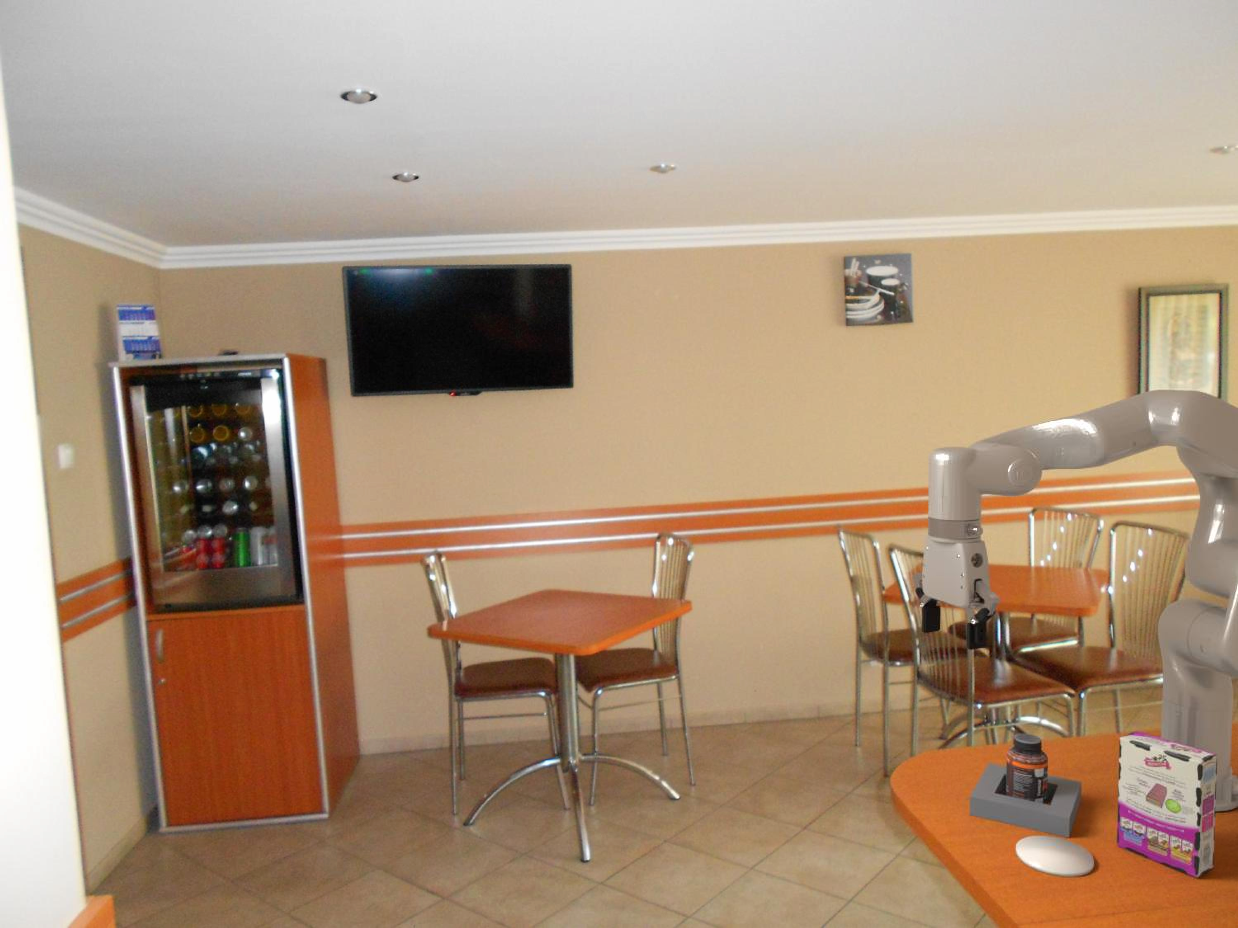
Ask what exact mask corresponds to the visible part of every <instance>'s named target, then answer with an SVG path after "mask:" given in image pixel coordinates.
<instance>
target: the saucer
mask: <svg viewBox="0 0 1238 928" xmlns="http://www.w3.org/2000/svg"><path fill="white" fill-rule="evenodd" d="M1015 854H1016V857H1017V858H1018V860H1020V861H1021V862H1022V863H1023V864H1025V865H1026V866H1027V867H1030V868H1031V869H1034V870H1036V871H1037V872H1041V873H1044V874H1047V875H1052V876H1056V877H1063V878H1065V877H1067V878H1068V877H1069V878H1074V877H1081V876H1085V875H1088V874H1089V873H1091V872H1092V871H1093V870H1094V867H1095V860H1094V856H1093V855H1092V853H1090V851H1088V849H1086V848H1085V847H1083V846H1081V845H1079V844H1078V843H1076V842H1073V841H1071V840H1067V839H1065V838H1061V837H1057V836H1050V835H1031V836H1030V835H1029V836H1026V837H1023V838H1021V839H1019V840H1018V841H1017V842H1016V845H1015Z"/></svg>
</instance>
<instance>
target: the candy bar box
mask: <svg viewBox="0 0 1238 928" xmlns="http://www.w3.org/2000/svg"><path fill="white" fill-rule="evenodd" d="M1118 744H1119V745H1118V746H1119V748H1118V749H1119V750H1118V785H1117V786H1118V787H1117V788H1118V789H1117V790H1118V791H1117V793H1118V794H1117V819H1116V820H1117V822H1116V825H1117V828H1116V846H1117V847H1118V848H1121V849H1123V850H1127V851H1129V852H1131V853H1134V854H1136V855H1139V856H1140V857H1144V858H1146V859H1147V860H1150V861H1153V862H1156V863H1159V864H1161V865H1164V866H1166V867H1168V868H1171V869H1174V870H1176V871H1179V872H1181V873H1184V874H1186V875H1189V876H1191V877H1194V878H1197V879H1198V878H1200V877H1201V876H1203V875H1204V874H1207V872H1209V871H1211V870H1212V869H1213V868H1214V863H1215V860H1214V859H1215V835H1216V834H1215V831H1216V829H1215V828H1216V811H1215V805H1216V778H1217V754H1215V753H1211V752H1208V751H1204V750H1201V749H1198V748H1194V747H1191V746H1188V745H1184V744H1181V743H1177V742H1174V741H1170V740H1167V739H1163V738H1161V736H1160V737H1159V736H1156V735H1153V734H1150V733H1149V734H1148V733H1145V732H1142V731H1138V730H1135V731H1132V732H1130V733H1128V734H1126V735H1123V736H1121V737H1119V743H1118Z"/></svg>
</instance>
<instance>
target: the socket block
mask: <svg viewBox="0 0 1238 928" xmlns="http://www.w3.org/2000/svg"><path fill="white" fill-rule="evenodd" d="M1004 793H1006V766H1004V765H1000V764H995V763H988V764H987V766H986V768H985V769H984V771H983V773H982V775H981V777H980V778H979V780H978V782H977V783H976V785H975V787H974V789H973V790H972V792H971V794H970V796H969V815H970V816H974V817H978V818H983V819H986V820H991V821H995V822H999V823H1004V824H1007V825H1013V826H1017V827H1020V828H1025V829H1029V830H1034V831H1039V832H1043V833H1045V834H1046V833H1047V834H1049V835H1050V834H1052V835H1055V836H1060V837H1064V838H1070V835H1071V833H1072V829H1073V826H1074V823H1075V820H1076V817H1077V813H1078V811H1079V808H1080V805H1081V801H1082V781H1079V780H1075V779H1069V778H1064V777H1060V776H1056V775H1050V774H1048V777H1047V802H1051V803H1050V804H1048V803H1047V804H1042V803H1038V802H1033V801H1029V800H1024V799H1019V798H1015V797H1010V796H1006V794H1004Z"/></svg>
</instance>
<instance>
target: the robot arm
mask: <svg viewBox="0 0 1238 928" xmlns="http://www.w3.org/2000/svg"><path fill="white" fill-rule="evenodd" d="M1165 446H1167V447H1175V449H1176V452H1177V456H1178V458H1179V460H1180V462H1181V463H1182V464H1183V465H1184V467H1185V468H1186V469H1187V470H1188V471H1189V473H1190V474H1191V476H1192V478H1193V479H1194V481H1195V484H1196V485H1197V489H1198V492H1199V507H1198V511H1197V517H1196V520H1195V525H1194V528H1193V531H1192V532H1193V533H1192V536H1191V540H1190V543H1189V548H1188V550H1187V555H1186V560H1185V563H1184V575H1185V577H1186V580H1187V581H1188V583H1189V584H1191V586H1193V587H1194V588H1196V589H1198V590H1200V591H1202V592H1205V593H1208V594H1211V595H1213V596H1215V597H1216V596H1217V597H1219V598H1223V599H1225V600H1228V603H1227V607H1225V606H1221V605H1219V604H1215V603H1213V602H1210V601H1205V600H1203V599H1197V598H1183V599H1182V598H1181V599H1178V600H1175V601H1173V602H1171V603H1170V604H1169V605H1167V606H1166V607H1165V608H1164V609H1163V611H1162V612H1161V614H1160V616H1159V620H1158V625H1157V636H1158V643H1159V644H1158V645H1159V649H1160V654H1161V659H1162V660H1161V661H1162V663H1161V664H1162V681H1163V682H1162V696H1161V697H1162V698H1161V702H1162V703H1161V723H1160V724H1161V725H1160V726H1161V727H1160V738H1163V739H1167V740H1170V741H1174V742H1177V743H1181V744H1184V745H1188V746H1191V747H1194V748H1198V749H1201V750H1204V751H1208V752H1211V753H1215V754H1217V778H1216V805H1215V812H1226V811H1230V810H1233V809H1236V808H1238V776H1237V775H1235V774H1234V775H1233V767H1232V766H1231V756H1232V755H1231V754H1232V753H1231V752H1232V735H1233V734H1232V733H1233V732H1232V731H1233V730H1232V729H1233V712H1234V711H1233V707H1234V686H1233V683H1232V682H1233V681H1232V678H1233V679H1238V407H1237V406H1235V405H1233V404H1232V403H1229V402H1227V401H1225V400H1223V399H1221V398H1218V397H1217V396H1215V395H1212V394H1210V393H1207V392H1203V391H1200V390H1191V389H1190V390H1188V389H1187V390H1186V389H1185V390H1182V389H1181V390H1180V389H1155V390H1150V391H1145V392H1142V393H1139V394H1136V395H1133V396H1130V397H1127V398H1124V399H1121V400H1118V401H1115V402H1111V403H1109V404H1105V405H1103V406H1100V407H1097V408H1094V409H1091V410H1087V411H1085V412H1082V413H1078V414H1074V415H1069V416H1065V417H1059V418H1055V419H1052V420H1049V421H1045V422H1041V423H1036V424H1032V425H1031V424H1030V425H1027V426H1026V425H1025V426H1022V427H1019V428H1015V429H1011V430H1007V431H1005V432H1001V433H998V434H996V435H992V436H989V437H987V438H983V439H980V440H978V441H976V442H974V443H972V444H970V445H969V446H968V447H966V446H965V447H964V446H963V447H961V446H959V447H958V446H946V447H945V446H944V447H937V448H935V449H933V450H932V451H931V452H930V454H929V456H928V507H927V508H928V513H927V514H928V517H927V518H928V519H927V524H928V526H927V536H926V539H925V544H924V550H923V558H922V571H919V572H918V573H915V574H913V575H912V577H911V578H912V582H913V585H914V587H915V591H914V592H915V594H916V596H917V598H918V599H919V601H918V604H919V606H920V608H921V632H922V633H924V634H930V633H934V632H939V631H940V630H941V617H942V616H941V612H942V611H941V610H942V609H941V608H942V607H941V605H939V603H940V602H941V603H943V604H947V605H950V606H954V607H957V608H961V609H963V610H964V611H965V613H966V616H967V618H968V619H969V622H967V623H966V648H967V649H968V650H969V651H973V650H978V649H984V648H986V646H987V623H989V622H991V619H992V617H993V616H994V615H996V610H997V608H998V606H999V604H1000V602H1001V599H1000V597H999V596H998V595H997V594H996V593H995V592H994V591H993V590H992V589H991V580H990V579H991V577H990V568H989V567H990V566H989V559H988V558H989V557H988V556H989V555H988V551H987V547H986V543H985V540H982V537H981V536H982V535H983V532H984V529H983V527H982V496H983V495H991V496H1003V497H1019V496H1024V495H1026V494H1028V493H1030V492H1031V491H1033V490H1034V489H1035V488H1036V487H1037V486H1038V485H1039V483H1040V482H1041V479H1042V476H1043V471H1049V470H1083V469H1084V470H1085V469H1091V468H1093V469H1094V468H1099V467H1102V466H1106V465H1108V464H1110V463H1114V462H1117V461H1121V460H1122V459H1126V458H1128V457H1131V456H1133V455H1134V456H1135V455H1137V454H1140V453H1143V452H1147V451H1149V450H1153V449H1155V448H1158V447H1165ZM975 609H976V610H977V613H976V611H975Z"/></svg>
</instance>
